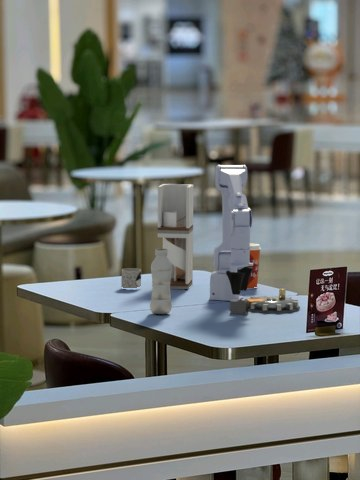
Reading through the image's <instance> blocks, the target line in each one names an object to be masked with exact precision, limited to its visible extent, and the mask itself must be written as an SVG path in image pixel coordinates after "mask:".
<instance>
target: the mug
mask: <svg viewBox="0 0 360 480" xmlns="http://www.w3.org/2000/svg"><path fill="white" fill-rule="evenodd" d="M140 286H141V287H142V269H141V268H135V267H134V268H133V267H131V268H130V267H127V268H121V287H123V288H137V287H140Z"/></svg>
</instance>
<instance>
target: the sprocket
mask: <svg viewBox="0 0 360 480" xmlns="http://www.w3.org/2000/svg"><path fill="white" fill-rule="evenodd" d="M286 290H287V289H286V288H279V290H278V291H279V292H278V295H273V296H271V295H268V296H267V295H265V294H264V295H261V296H255V295H254V296H253V295H252V296H250V298H247V297H245V298H244V300H247V301H249V307H251V309H263V310H266V311H267V310H277V311H281V310H282V309H288V310H292V309H293V308H298V306H299V299H297V298H293V299H292V297H290V296H286V293H287V292H286Z"/></svg>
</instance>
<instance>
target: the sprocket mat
mask: <svg viewBox="0 0 360 480" xmlns="http://www.w3.org/2000/svg"><path fill="white" fill-rule="evenodd" d="M299 309H300V310H301V306H300V305H298V308H293V309H292V310H288V309H282V310H281V311H277V310H267V311H266V310H263V309H251V307H249V310H248V312H251V311H252V312H251V313H257V312H261V313H260V314H270V313H276V315H277V314H278V315H279V314H289V313H295V311H296V312H298V311H297V310H299ZM300 310H299V311H300Z"/></svg>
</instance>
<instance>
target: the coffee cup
mask: <svg viewBox="0 0 360 480" xmlns="http://www.w3.org/2000/svg"><path fill="white" fill-rule="evenodd" d="M261 250H262V247H261V245H260V244H259V243H253V242H252V243H251V242H250V259H249V260H250V263H253V266H248V267H253V271H252V273H251V275H250V278H249V282H248V287H247V288H254V287H257V288H258V281H259V270H260V268H259V267H260V253H261Z"/></svg>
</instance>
